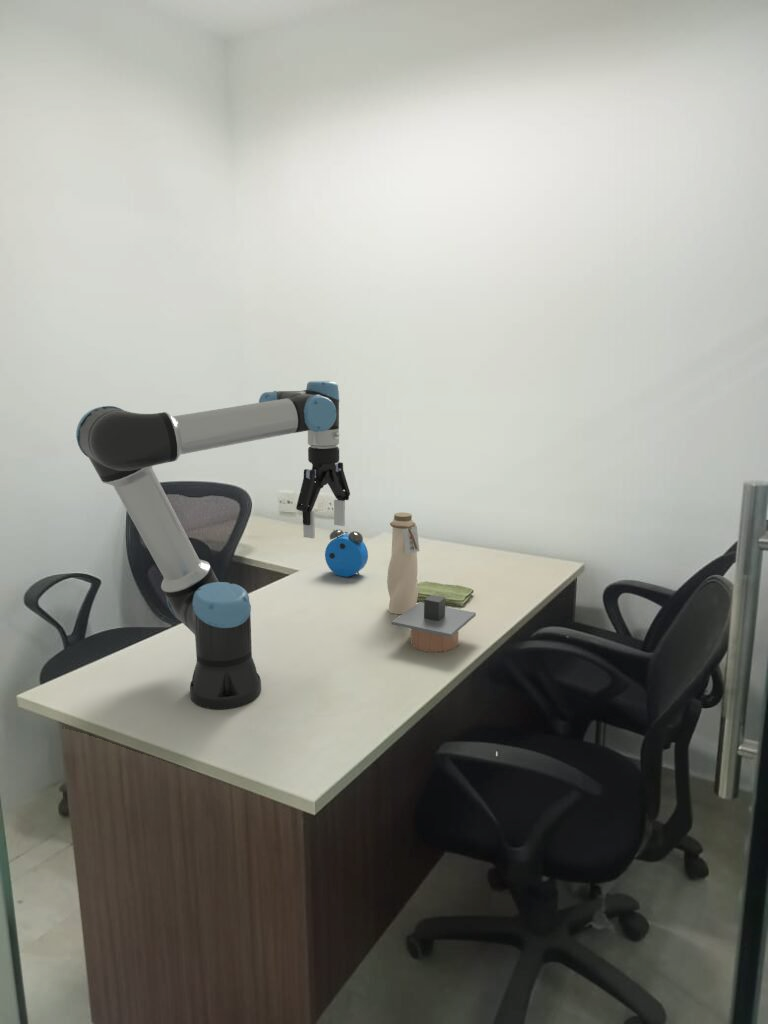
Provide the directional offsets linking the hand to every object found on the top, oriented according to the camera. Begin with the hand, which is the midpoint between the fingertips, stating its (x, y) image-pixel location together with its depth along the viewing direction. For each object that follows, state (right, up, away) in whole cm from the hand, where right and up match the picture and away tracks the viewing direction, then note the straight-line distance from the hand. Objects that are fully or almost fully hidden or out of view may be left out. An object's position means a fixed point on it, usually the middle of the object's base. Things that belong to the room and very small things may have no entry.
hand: (324, 531), depth 179 cm
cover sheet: (+28, -23, +4) cm, 36 cm away
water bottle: (+20, -23, +27) cm, 41 cm away
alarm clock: (+2, -16, +58) cm, 60 cm away
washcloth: (+32, -21, +38) cm, 54 cm away
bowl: (+28, -28, +5) cm, 40 cm away
